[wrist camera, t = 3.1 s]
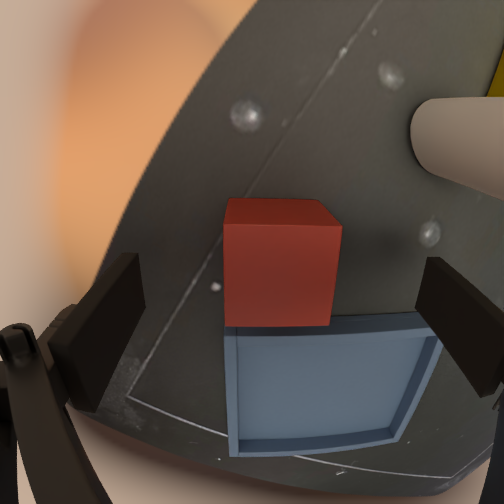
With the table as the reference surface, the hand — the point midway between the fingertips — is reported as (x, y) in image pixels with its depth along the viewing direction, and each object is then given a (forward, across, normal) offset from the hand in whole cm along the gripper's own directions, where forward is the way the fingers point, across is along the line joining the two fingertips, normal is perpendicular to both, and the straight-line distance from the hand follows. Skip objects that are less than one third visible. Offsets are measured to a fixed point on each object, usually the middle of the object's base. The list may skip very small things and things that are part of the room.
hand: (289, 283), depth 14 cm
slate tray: (+5, +5, -12) cm, 14 cm away
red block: (+5, 0, 0) cm, 5 cm away
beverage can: (+6, +10, +7) cm, 13 cm away
